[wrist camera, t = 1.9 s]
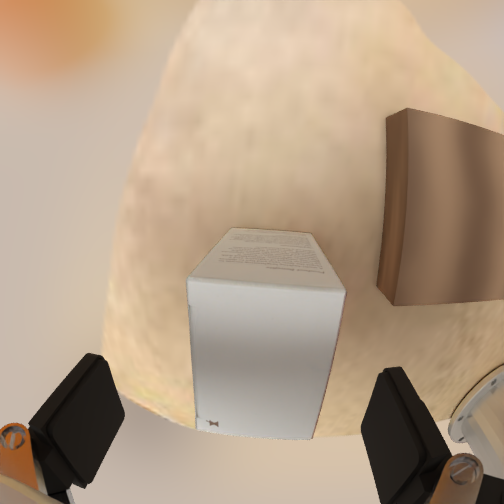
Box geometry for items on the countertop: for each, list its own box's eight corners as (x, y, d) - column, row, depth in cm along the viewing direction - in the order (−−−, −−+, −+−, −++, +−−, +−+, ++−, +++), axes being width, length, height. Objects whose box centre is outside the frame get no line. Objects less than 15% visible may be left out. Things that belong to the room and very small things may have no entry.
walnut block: (500, 146, 16) (530, 146, 13) (487, 281, 19) (513, 298, 16) (383, 118, 17) (407, 107, 13) (374, 283, 20) (393, 306, 16)
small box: (300, 335, 21) (313, 444, 11) (226, 329, 22) (194, 434, 12) (313, 230, 19) (352, 289, 9) (229, 224, 20) (183, 277, 9)
